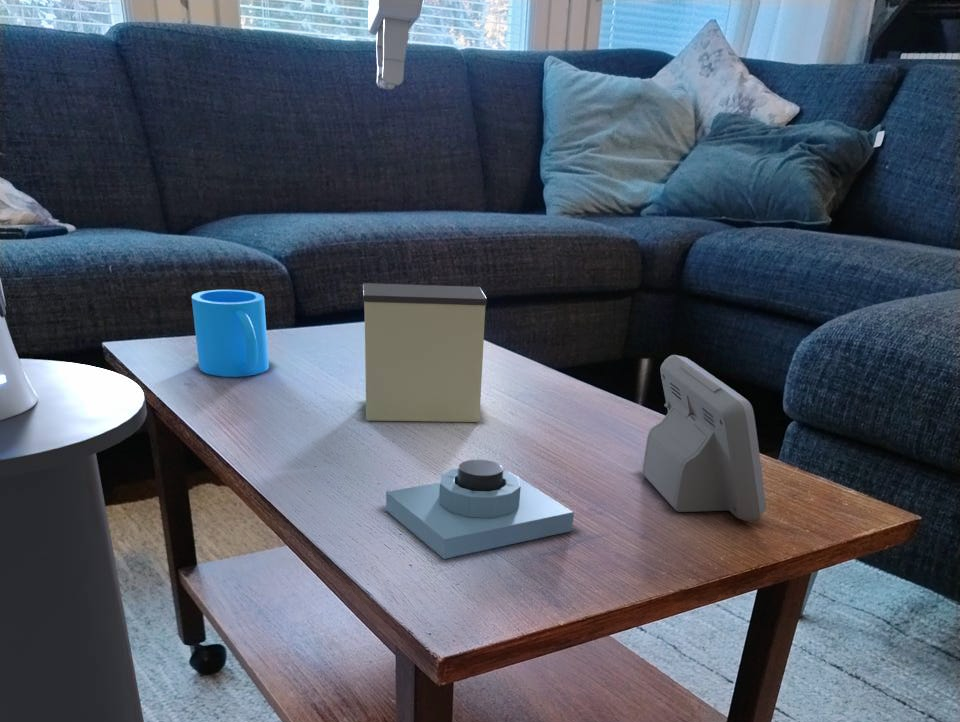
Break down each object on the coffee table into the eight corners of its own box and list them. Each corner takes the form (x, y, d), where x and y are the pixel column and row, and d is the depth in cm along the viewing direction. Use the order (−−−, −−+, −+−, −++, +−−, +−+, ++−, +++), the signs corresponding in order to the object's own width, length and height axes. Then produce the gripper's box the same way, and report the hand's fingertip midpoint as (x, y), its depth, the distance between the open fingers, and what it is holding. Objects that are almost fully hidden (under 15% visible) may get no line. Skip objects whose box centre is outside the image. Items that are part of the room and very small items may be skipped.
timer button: (471, 497, 71) (472, 478, 70) (449, 481, 73) (450, 463, 73) (510, 490, 72) (511, 471, 72) (487, 474, 75) (488, 456, 74)
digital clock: (767, 531, 76) (797, 406, 70) (660, 525, 76) (681, 400, 70) (725, 462, 90) (747, 353, 84) (634, 457, 89) (650, 348, 84)
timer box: (443, 559, 68) (445, 516, 66) (385, 510, 75) (385, 470, 74) (572, 531, 74) (576, 491, 72) (506, 488, 81) (509, 450, 79)
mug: (190, 361, 110) (183, 291, 106) (255, 356, 114) (250, 288, 110) (220, 388, 102) (213, 313, 97) (290, 381, 105) (285, 308, 101)
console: (480, 422, 96) (487, 299, 90) (365, 421, 95) (363, 295, 88) (474, 404, 101) (479, 286, 95) (364, 403, 100) (363, 283, 93)
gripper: (357, -82, 86) (351, 87, 92) (366, -137, 68) (358, 76, 75) (423, -71, 87) (413, 95, 94) (448, -123, 69) (433, 86, 76)
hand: (388, 86), depth 84 cm, fingers open, 8 cm apart
